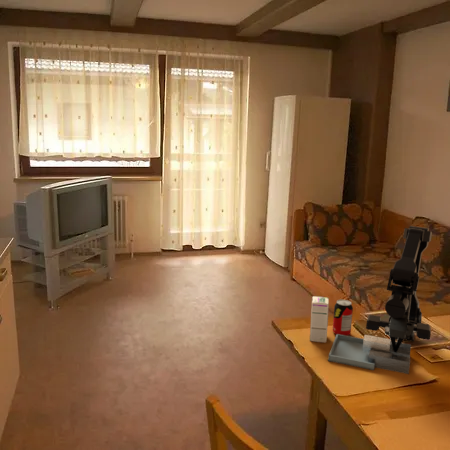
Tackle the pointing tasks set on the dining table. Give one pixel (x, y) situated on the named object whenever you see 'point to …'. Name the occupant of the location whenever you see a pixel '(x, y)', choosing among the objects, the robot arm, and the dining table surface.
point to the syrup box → (319, 319)
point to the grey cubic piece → (383, 345)
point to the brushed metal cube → (369, 343)
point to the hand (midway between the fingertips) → (395, 351)
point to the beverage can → (342, 317)
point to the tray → (349, 352)
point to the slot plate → (392, 359)
